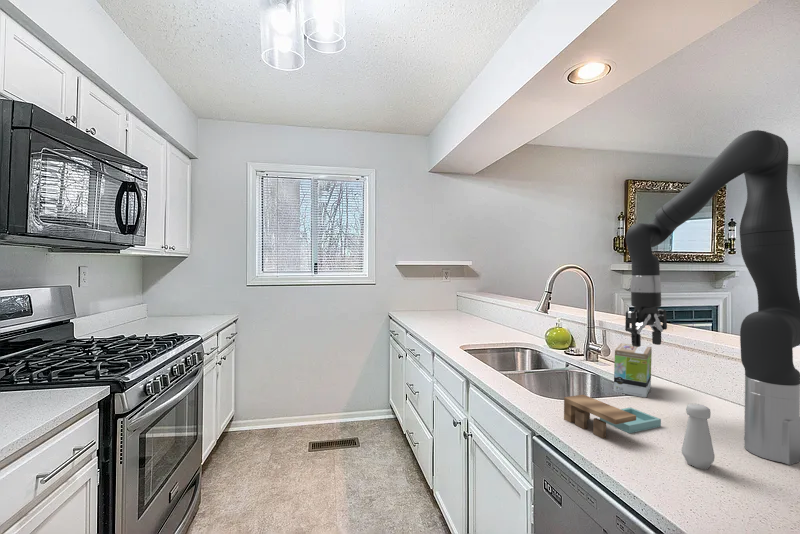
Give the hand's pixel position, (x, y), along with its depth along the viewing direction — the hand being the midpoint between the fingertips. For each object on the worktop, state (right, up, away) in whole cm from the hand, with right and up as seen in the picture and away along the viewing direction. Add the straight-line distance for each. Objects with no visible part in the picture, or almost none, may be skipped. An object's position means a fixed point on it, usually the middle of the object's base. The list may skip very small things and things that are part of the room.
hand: (646, 345), depth 114 cm
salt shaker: (-8, -20, -30) cm, 37 cm away
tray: (-10, -20, -8) cm, 24 cm away
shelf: (-21, -20, -12) cm, 31 cm away
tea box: (+8, -20, +21) cm, 30 cm away
